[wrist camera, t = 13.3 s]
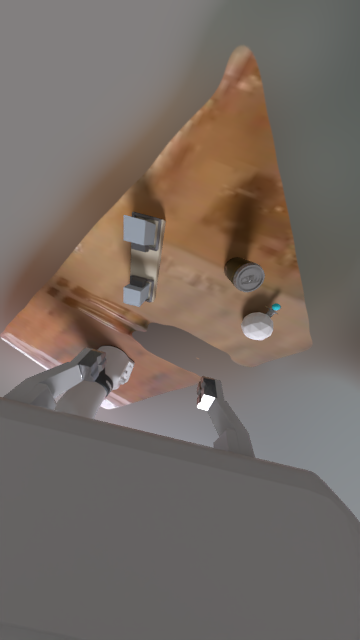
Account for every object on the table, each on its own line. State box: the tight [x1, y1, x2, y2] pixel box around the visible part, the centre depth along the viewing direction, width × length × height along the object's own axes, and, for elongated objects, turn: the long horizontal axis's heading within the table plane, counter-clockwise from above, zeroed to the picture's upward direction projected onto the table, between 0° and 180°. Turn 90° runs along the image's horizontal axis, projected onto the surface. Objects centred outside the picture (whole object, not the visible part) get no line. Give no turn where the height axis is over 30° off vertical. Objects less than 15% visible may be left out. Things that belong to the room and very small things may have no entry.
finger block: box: [124, 215, 156, 252], centre depth 29 cm, size 6×4×7 cm
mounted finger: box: [124, 277, 150, 307], centre depth 35 cm, size 6×4×7 cm
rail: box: [130, 212, 166, 302], centre depth 35 cm, size 20×7×3 cm, turn 167°
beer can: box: [224, 257, 265, 292], centre depth 30 cm, size 5×5×12 cm
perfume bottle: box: [241, 304, 281, 340], centre depth 38 cm, size 8×8×12 cm
